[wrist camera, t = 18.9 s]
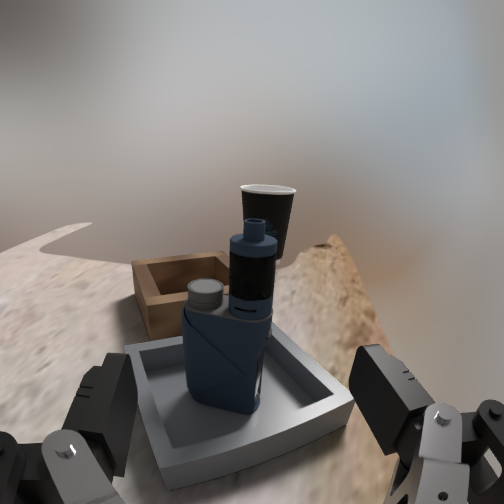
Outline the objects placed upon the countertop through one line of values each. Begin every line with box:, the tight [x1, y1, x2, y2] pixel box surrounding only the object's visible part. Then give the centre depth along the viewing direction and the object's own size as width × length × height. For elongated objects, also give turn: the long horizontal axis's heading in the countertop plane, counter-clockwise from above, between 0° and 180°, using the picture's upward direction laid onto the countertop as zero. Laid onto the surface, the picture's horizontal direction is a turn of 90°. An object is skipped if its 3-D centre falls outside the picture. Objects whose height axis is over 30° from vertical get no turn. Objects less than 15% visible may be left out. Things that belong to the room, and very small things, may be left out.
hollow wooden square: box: [132, 251, 230, 341], centre depth 31 cm, size 11×11×4 cm
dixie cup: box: [240, 185, 296, 266], centre depth 45 cm, size 8×8×11 cm
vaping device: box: [181, 219, 277, 414], centre depth 17 cm, size 3×5×12 cm, turn 75°
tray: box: [124, 322, 355, 491], centre depth 19 cm, size 12×11×3 cm
